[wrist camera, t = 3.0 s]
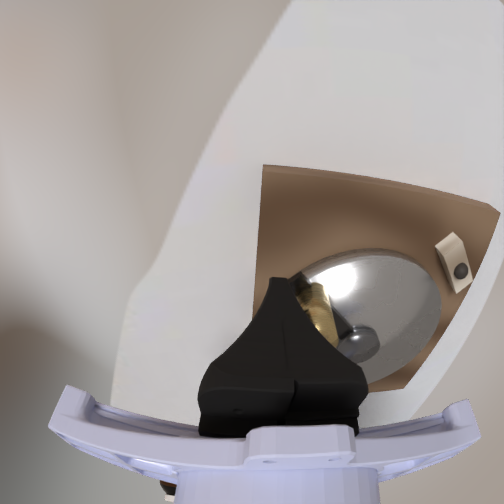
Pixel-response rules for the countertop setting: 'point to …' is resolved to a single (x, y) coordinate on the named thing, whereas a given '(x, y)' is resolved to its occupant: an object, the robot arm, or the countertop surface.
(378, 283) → the cam dial
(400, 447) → the robot arm
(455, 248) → the stand
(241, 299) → the countertop surface
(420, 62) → the countertop surface
